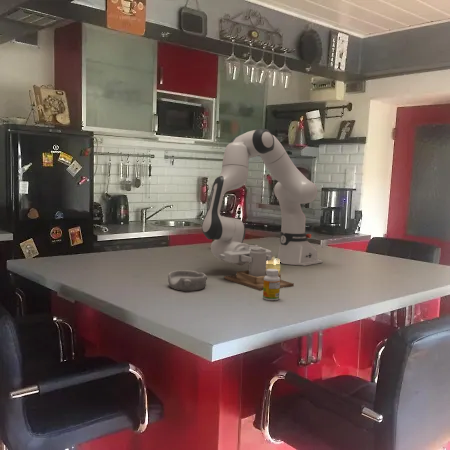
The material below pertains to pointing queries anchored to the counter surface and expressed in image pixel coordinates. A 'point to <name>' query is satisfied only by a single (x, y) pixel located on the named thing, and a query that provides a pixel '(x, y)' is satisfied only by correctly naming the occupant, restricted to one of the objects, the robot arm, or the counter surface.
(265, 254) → the beverage can
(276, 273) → the supplement bottle
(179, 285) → the dish
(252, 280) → the tray
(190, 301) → the counter surface
